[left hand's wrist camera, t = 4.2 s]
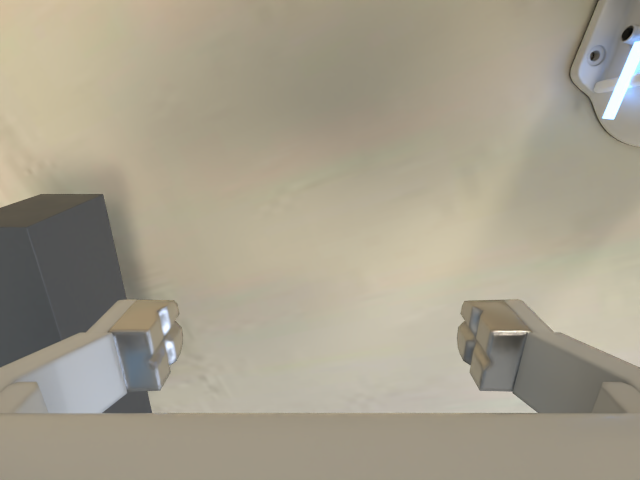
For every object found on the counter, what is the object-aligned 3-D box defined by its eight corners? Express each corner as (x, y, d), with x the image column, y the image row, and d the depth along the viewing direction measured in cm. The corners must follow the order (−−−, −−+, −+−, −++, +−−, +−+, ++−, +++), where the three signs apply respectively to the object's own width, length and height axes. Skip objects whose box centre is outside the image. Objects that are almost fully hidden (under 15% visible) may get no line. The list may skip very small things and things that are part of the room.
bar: (40, 194, 30) (-59, 227, 22) (103, 194, 30) (26, 227, 22) (106, 423, 39) (53, 503, 31) (154, 423, 39) (113, 504, 31)
